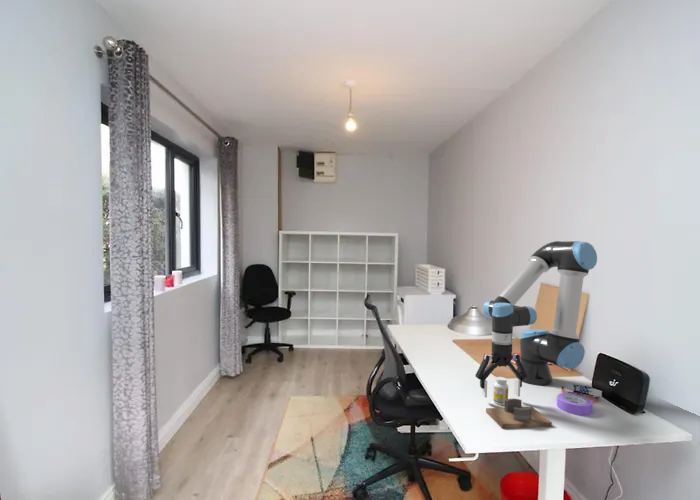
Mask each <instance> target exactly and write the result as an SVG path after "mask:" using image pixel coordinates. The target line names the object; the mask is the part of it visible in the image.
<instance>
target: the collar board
mask: <svg viewBox="0 0 700 500" xmlns="http://www.w3.org/2000/svg"><path fill="white" fill-rule="evenodd" d="M522 401H523V400H522V399H519V398H508V399H506V400H505V405H504V407H486V408H485V413H486V414H487V415H488V416H489V417H490V418H491V419H492V420H493V421H494V422H495V423H496V424H497V425H498V426H499V427H500V428H501V429H519V428H520V429H521V428H525V429H526V428H545V427H546V428H548V427H551V428H552V427H553V422H552V421H551V420H550V419H549V418H547V417H546V416H544V414H542V413H540V412H539V411H538V410H537V409H535V408H534V407H533V406H522Z"/></svg>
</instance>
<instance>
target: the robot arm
mask: <svg viewBox="0 0 700 500" xmlns="http://www.w3.org/2000/svg"><path fill="white" fill-rule="evenodd" d="M597 262H598V255H597V250H596V249H595V247H594V246H593V244H591V243H590V242H587V241H580V240H579V241H578V240H576V241H575V240H574V241H572V240H571V241H568V240H567V241H565V240H564V241H559V240H555V241H551V242H549V243H546V244H544V245H542V246H541V247H539V248H538V249H537V250H536V251H535V252H534V253H533V254H531V256H530V257H529V258H528V262H527V263H526V265H524V267H523V268H522V269H521V270H520V271H519V273H517V274H516V275H515V277H514V278H513V279H512V280H511V281H510V283H508V284H507V286H506V287H505V288H504V289H503V290H502V291H501V292H500V293H499V294H498V295H497V297H496V298H495V299H494V300H492V299H491V300H487V301H485V302H484V304H483V306H482V311H483V314H484V315H485V316H486V317H488V318H490V319H491V320H492V321H491V326H492V327H491V341H492V342H491V354H490V355H489V354H486V353H484V354H483V359H482V360H481V363H480V365H479V367H478V369H477V371H476V373H475V378H477V379H478V380H479V386H480V388H481V395H482V397H484V398H486V399H487V397H488V396H487V395H488V380H487V378H488V377H489V376H490V375H491V374H492V372H493V371H494V370H496V368H498V367H499V368H501V367H508V368H509V369H510V370H511V372H512V373H513V374H514V376H515V377H514V395H516V397H519V398H520V397H521V388H522V387H523V382H524V383H527V384H531V385H537V386H538V385H539V386H547V385H550V384H552V383H553V375H552V373H551V370H550V366H549V363H550V364H552V365H556V366H558V367H559V368H564V369H568V370H571V369H572V370H573V369H576V368H577V367H579V365H580V364H582V362H583V360H584V357H585V355H586V354H585V352H586V350H585V348H584V345H583V344H582V343H581V342H580V336H579V335H578V334H577V328H578V320H579V313H580V307H581V300H582V291H583V284H584V279H585V277H586V276H588V275H589V272H590V270H593V269H594V268H595V266H597ZM556 267H557V272H558V273H559V274H560V275H559V277H560V278H559V284H558V285H559V286H558V292H557V299H556V307H555V313H554V319H553V320H554V321H553V328H552V329H551V330H550V331H549V330H548V329H542V328H527V329H523V330H522V331H521V332H520V340H519V343H520V346H519V349H520V350H519V353H520V354H517V353H516V352H515V353H513V332H514V331H513V330H514V329H513V328H514V327H523V326H530V325H533V324H535V323H536V321H537V319H538V314H537V311H536V309H535V308H533V307H532V306H526V305H523V306H520V305H519V306H518V305H516V304H517V303H518V302H519V301H520V300H521V299H522V297H523V296H524V295H525V294H526V293H527V292H528V291H529V289H530V288H531V287H533V285H534V284H535V283H536V282H537V280H538V279H539V278H540V277H541V276H542V274H544V273H547V272H548V271H549V270H550V269H552V268H556ZM512 353H513V354H512ZM512 360H513V361H514V363H515V365H516V367H517V368H516V367H515V366H514V365H513V363H512ZM489 362H490V363H489Z"/></svg>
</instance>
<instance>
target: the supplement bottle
mask: <svg viewBox="0 0 700 500" xmlns="http://www.w3.org/2000/svg"><path fill="white" fill-rule="evenodd" d="M507 382H508V380H507V378H506V377H503V376H497V377H495V382H494V384H493V403H495V405H500V406H505V400H506V399H509V385H508V383H507Z"/></svg>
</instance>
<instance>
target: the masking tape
mask: <svg viewBox="0 0 700 500" xmlns="http://www.w3.org/2000/svg"><path fill="white" fill-rule="evenodd" d="M593 404H594V403H593V401H592V400H591V399H589V398H587V397H585V396H583V395H579V394H575V393H569V392H568V393H567V392H566V393H565V392H564V393H563V392H562V393H558V394H557V395H556V406H557V408H558V409H559V410H561V411H563V412H566V413H568V414H571V415H576V416H581V417H583V416H584V417H585V416H590V414H591V415H592V414H593V408H594V407H593V406H594V405H593Z"/></svg>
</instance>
